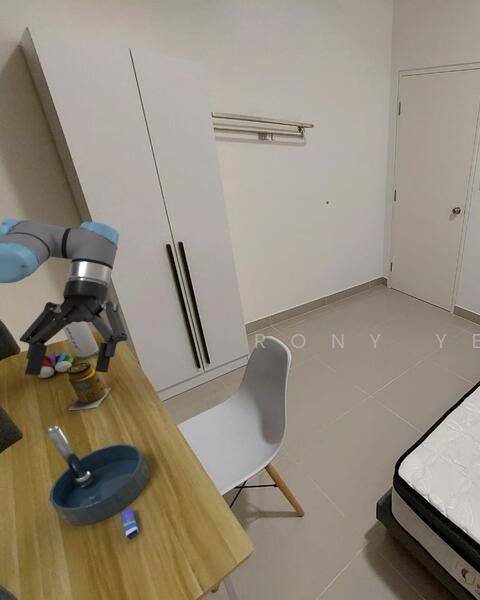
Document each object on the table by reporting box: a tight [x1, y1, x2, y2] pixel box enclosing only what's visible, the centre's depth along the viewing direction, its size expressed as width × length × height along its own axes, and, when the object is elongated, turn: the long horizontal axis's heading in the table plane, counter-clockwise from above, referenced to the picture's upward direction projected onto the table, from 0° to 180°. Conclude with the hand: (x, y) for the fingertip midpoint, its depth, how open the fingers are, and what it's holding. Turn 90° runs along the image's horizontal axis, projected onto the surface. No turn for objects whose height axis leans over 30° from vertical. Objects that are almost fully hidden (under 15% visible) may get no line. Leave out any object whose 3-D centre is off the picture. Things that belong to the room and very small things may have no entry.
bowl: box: [49, 443, 150, 527], centre depth 76 cm, size 16×16×6 cm
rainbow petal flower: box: [37, 350, 74, 379], centre depth 110 cm, size 8×10×7 cm
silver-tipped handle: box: [45, 424, 94, 487], centre depth 73 cm, size 4×4×19 cm
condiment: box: [66, 361, 112, 411], centre depth 99 cm, size 7×8×12 cm
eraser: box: [120, 507, 140, 540], centre depth 71 cm, size 2×6×2 cm, turn 44°
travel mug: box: [58, 311, 100, 360], centre depth 116 cm, size 6×7×20 cm
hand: (67, 373), depth 73 cm, fingers open, 13 cm apart
